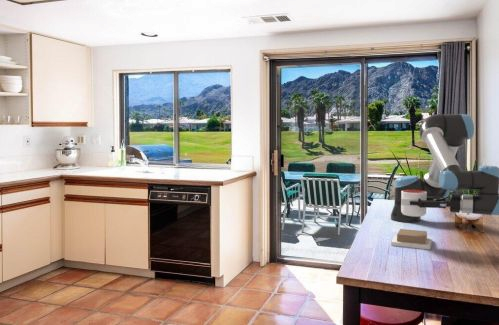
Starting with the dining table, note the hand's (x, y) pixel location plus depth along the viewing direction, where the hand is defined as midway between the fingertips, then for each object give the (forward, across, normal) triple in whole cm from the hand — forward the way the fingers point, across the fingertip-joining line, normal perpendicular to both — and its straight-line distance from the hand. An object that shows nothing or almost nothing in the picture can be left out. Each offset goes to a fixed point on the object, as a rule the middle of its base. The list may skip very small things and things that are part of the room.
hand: (403, 200), depth 189 cm
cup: (-4, 0, -6) cm, 8 cm away
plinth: (-4, 0, -18) cm, 19 cm away
